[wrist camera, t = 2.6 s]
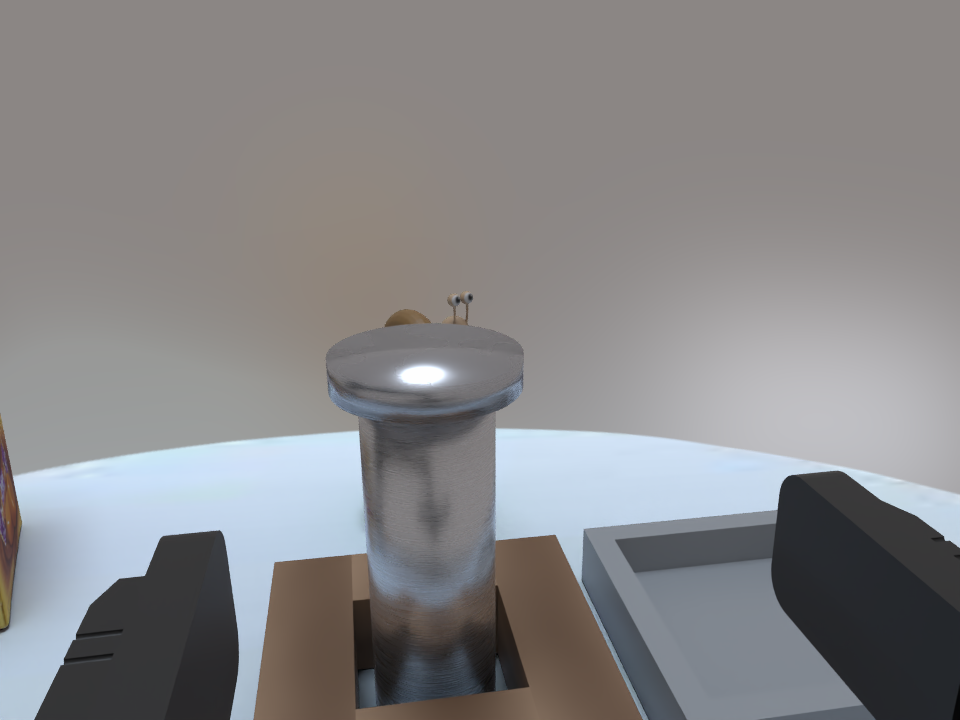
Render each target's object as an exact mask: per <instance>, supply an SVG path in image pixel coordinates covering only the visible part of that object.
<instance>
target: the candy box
mask: <svg viewBox="0 0 960 720" xmlns="http://www.w3.org/2000/svg"><path fill="white" fill-rule="evenodd" d="M21 525H22V521H21V516H20V511H19V506H18V501H17V496H16V491H15V486H14V481H13V476H12V471H11V465H10V461H9V456H8V450H7V446H6V441H5V436H4V430H3V426H2V420H1V415H0V629H3V628H6V627H7V626H8V624H9V618H10V607H11V595H12V585H13V577H14V570H15V563H16V556H17V550H18V541H19V535H20V529H21Z"/></svg>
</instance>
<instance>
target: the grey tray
mask: <svg viewBox="0 0 960 720" xmlns="http://www.w3.org/2000/svg"><path fill="white" fill-rule="evenodd" d="M777 511H778V510H774V511H764V512H753V513H743V514H733V515H723V516H712V517H702V518H692V519H682V520H671V521H661V522H651V523H641V524H630V525H620V526H610V527H600V528H589V529H584V537H583V561H582V581H583V584H584V586H585V588H586V590H587V592H588V594H589V596H590V598H591V600H592V602H593V604H594V606H595V608H596V610H597V612H598V615H599V617H600V619H601V621H602V623H603V625H604V627H605V629H606V631H607V633H608V635H609V637H610V639H611V641H612V644H613V646H614V648H615V650H616V652H617V654H618V656H619V658H620V660H621V662H622V664H623V666H624V668H625V670H626V673H627V675H628V677H629V679H630V681H631V683H632V685H633V687H634V689H635V691H636V693H637V695H638V697H639V699H640V702H641V704H642V706H643V708H644V710H645V712H646V714H647V716H648V718H649V720H876V719H875V718H874V717H873V716H872V714H871V713H870V712H869V711H868V710H867V709H866V707H865V706H864V705H863V704H862V703H861V702H860V700H859V699H858V698H857V697H856V696H855V694H854V693H853V692H852V691H851V690H850V689H849V687H848V686H847V685H846V684H845V683H844V682H843V680H842V679H841V678H840V677H839V676H838V674H837V673H836V672H835V671H834V670H833V669H832V667H831V666H830V665H829V664H828V663H827V662H826V660H825V659H824V658H823V657H822V656H821V654H820V653H819V652H818V651H817V650H816V649H815V647H814V646H813V645H812V644H811V643H810V642H809V640H808V639H807V638H806V637H805V636H804V634H803V633H802V632H801V631H800V630H799V629H798V627H797V626H796V625H795V624H794V623H793V622H792V620H791V619H790V618H789V617H788V616H787V614H786V613H785V612H784V611H783V609H782V608H781V606H780V604H779V602H778V600H777V598H776V595H775V592H774V589H773V584H772V578H771V564H772V555H773V546H774V537H775V529H776V520H777Z"/></svg>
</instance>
